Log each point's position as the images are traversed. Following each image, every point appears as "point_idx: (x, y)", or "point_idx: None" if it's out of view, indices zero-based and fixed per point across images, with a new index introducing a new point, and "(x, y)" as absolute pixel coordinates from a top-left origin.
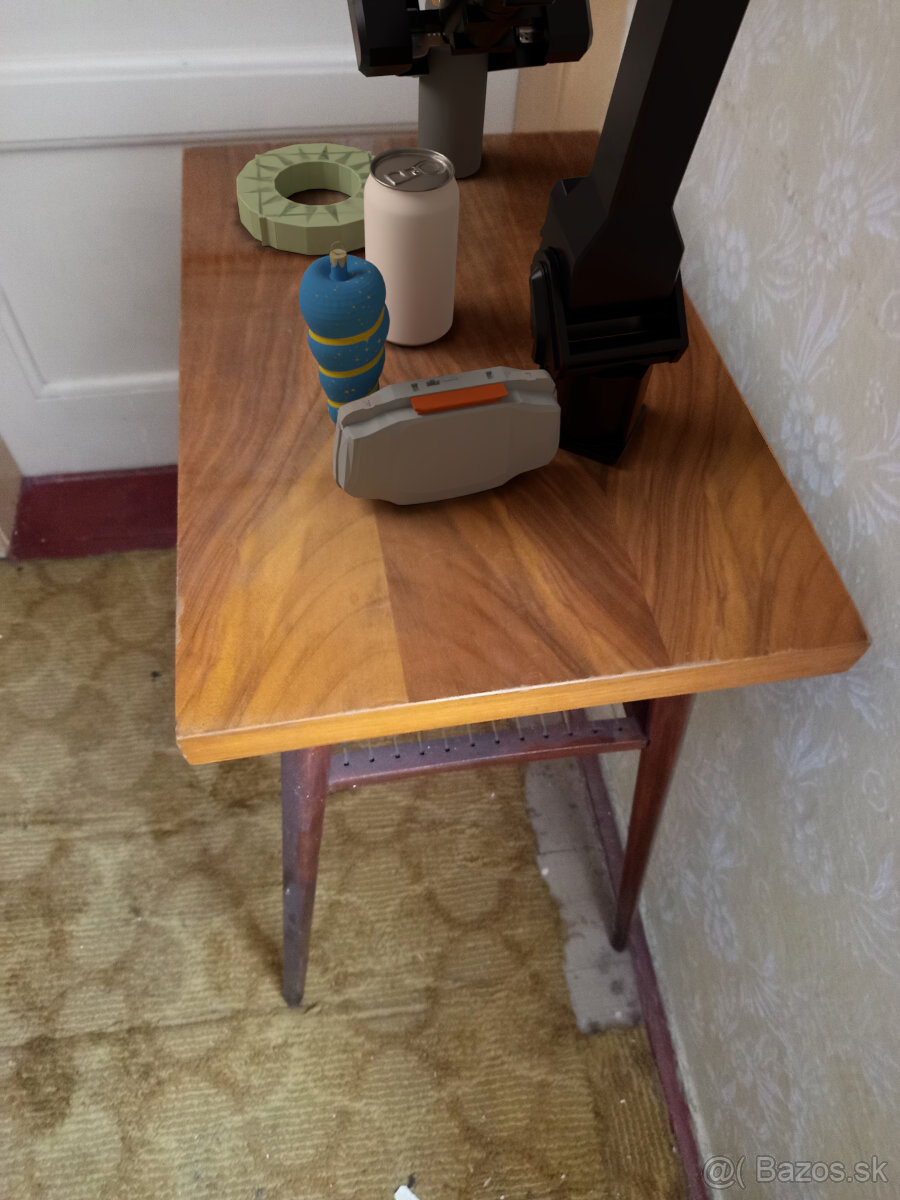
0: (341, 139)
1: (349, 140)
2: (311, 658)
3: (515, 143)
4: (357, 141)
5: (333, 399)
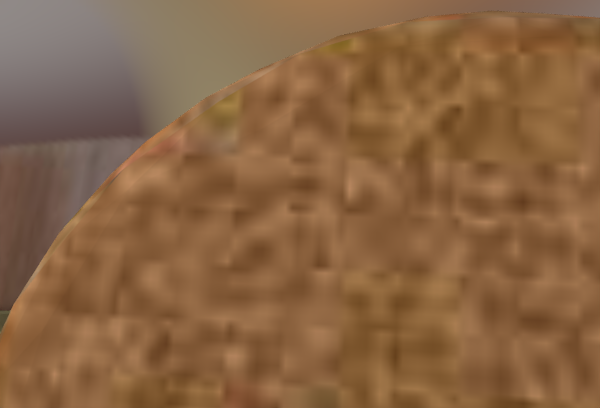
0: (81, 142)
1: (101, 149)
2: None
3: None
4: (122, 156)
5: None
